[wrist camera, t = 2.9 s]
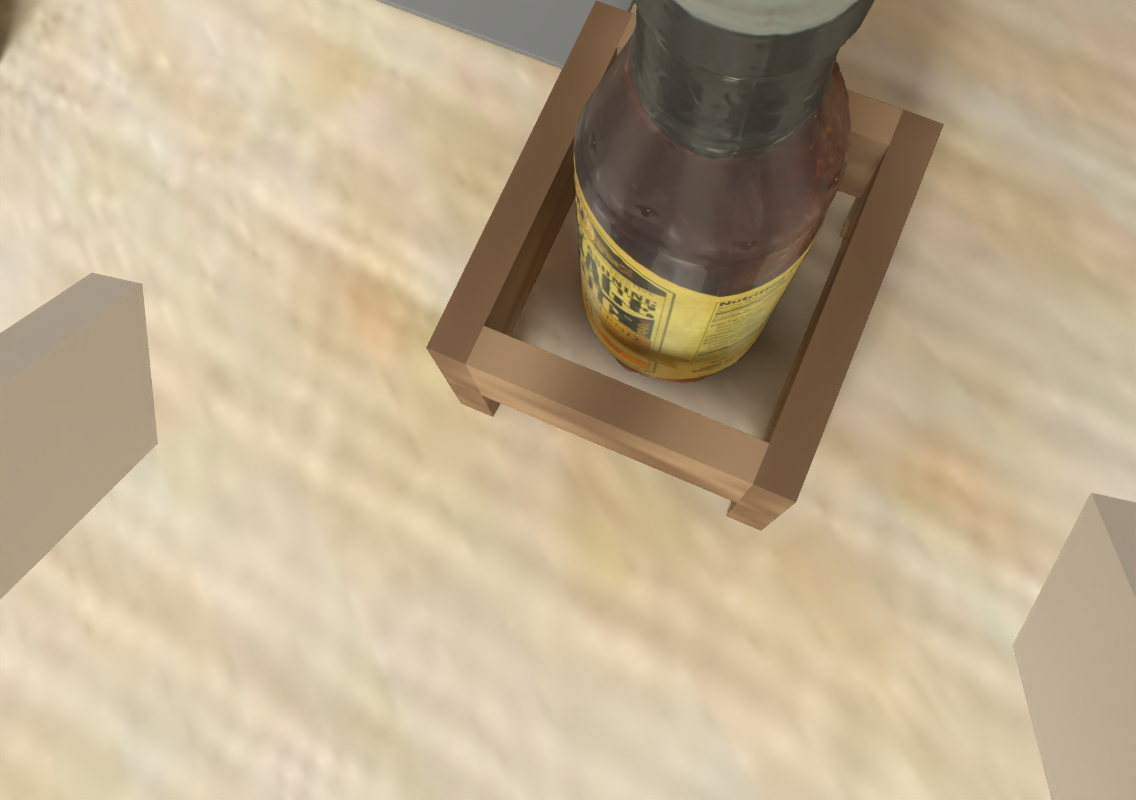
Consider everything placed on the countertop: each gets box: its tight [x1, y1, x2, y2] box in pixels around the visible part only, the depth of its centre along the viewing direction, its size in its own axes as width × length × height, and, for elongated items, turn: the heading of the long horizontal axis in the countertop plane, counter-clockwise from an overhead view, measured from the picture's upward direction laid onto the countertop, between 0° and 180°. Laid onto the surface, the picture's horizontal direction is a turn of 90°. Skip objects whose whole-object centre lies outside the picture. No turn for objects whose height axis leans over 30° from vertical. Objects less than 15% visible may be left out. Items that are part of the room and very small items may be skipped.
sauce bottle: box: [574, 0, 874, 382], centre depth 25 cm, size 6×6×20 cm
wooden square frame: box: [426, 0, 944, 530], centre depth 31 cm, size 11×12×6 cm
